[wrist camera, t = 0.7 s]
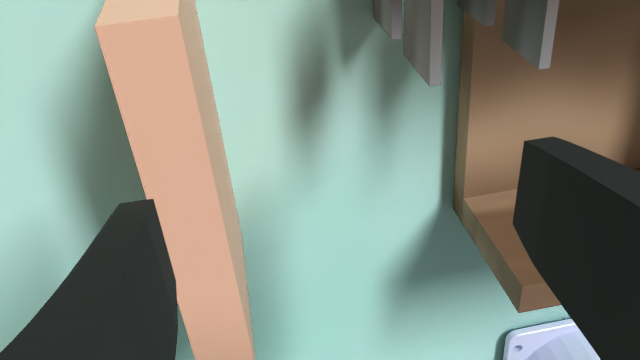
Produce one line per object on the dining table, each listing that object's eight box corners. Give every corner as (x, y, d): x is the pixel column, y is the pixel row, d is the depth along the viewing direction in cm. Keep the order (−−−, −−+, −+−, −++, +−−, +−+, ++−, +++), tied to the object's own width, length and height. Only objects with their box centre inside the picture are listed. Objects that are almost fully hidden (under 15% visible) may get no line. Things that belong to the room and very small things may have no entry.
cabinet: (675, 168, 26) (791, 258, 21) (380, 221, 24) (428, 331, 19) (784, -196, 18) (1007, -193, 13) (368, -149, 17) (441, -126, 12)
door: (241, 233, 23) (257, 377, 18) (180, 244, 23) (176, 393, 17) (183, -59, 17) (178, 15, 12) (99, -49, 17) (51, 31, 11)
